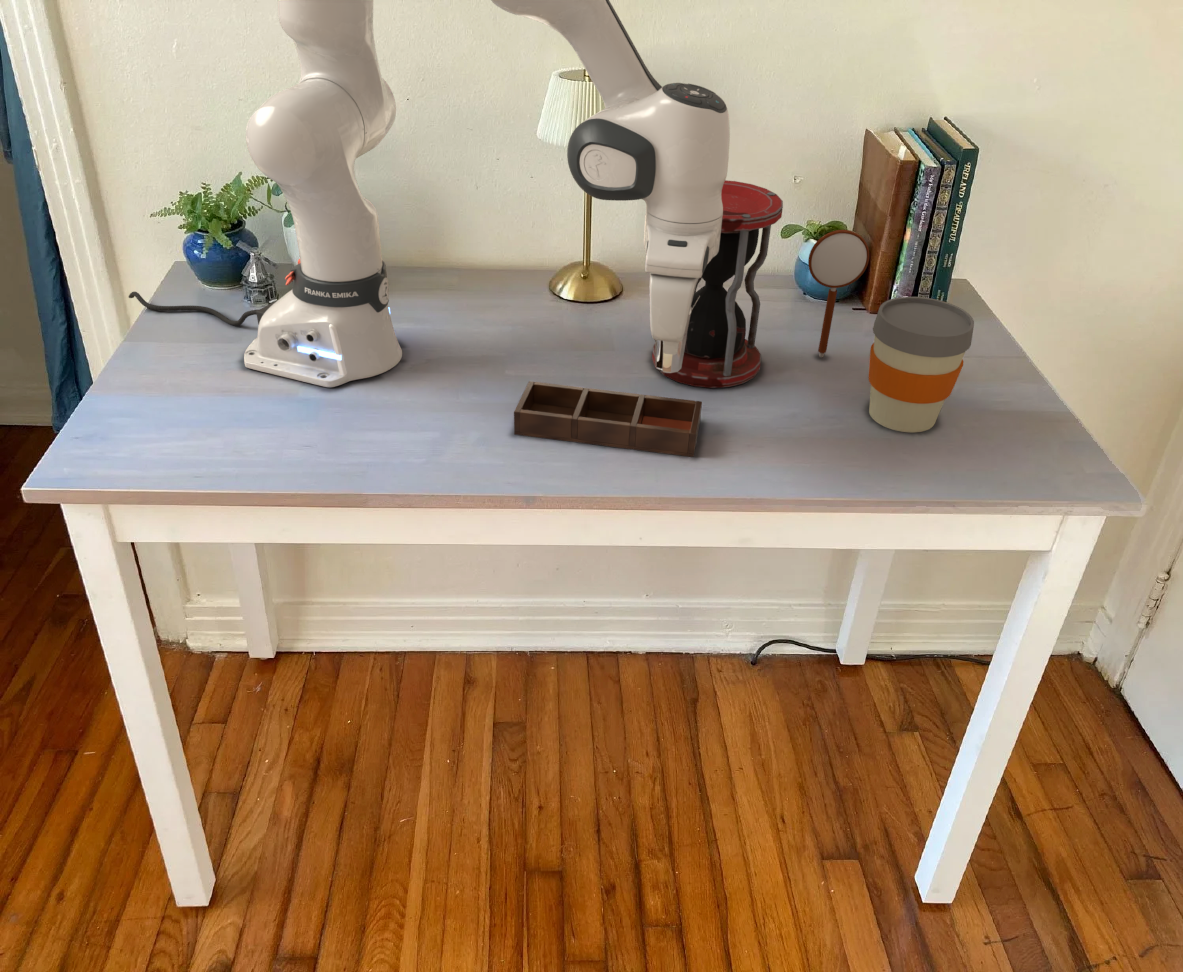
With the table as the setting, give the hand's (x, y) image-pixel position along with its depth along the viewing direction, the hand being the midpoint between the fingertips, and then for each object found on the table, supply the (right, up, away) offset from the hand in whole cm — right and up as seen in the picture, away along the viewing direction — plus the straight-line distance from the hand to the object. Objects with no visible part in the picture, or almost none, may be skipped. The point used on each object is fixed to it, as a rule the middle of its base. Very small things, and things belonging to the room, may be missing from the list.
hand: (673, 342), depth 124 cm
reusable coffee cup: (+33, -8, +14) cm, 37 cm away
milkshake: (0, -3, +2) cm, 4 cm away
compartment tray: (-8, -10, +9) cm, 16 cm away
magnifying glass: (+25, +2, +28) cm, 37 cm away
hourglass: (+7, 0, +25) cm, 26 cm away
